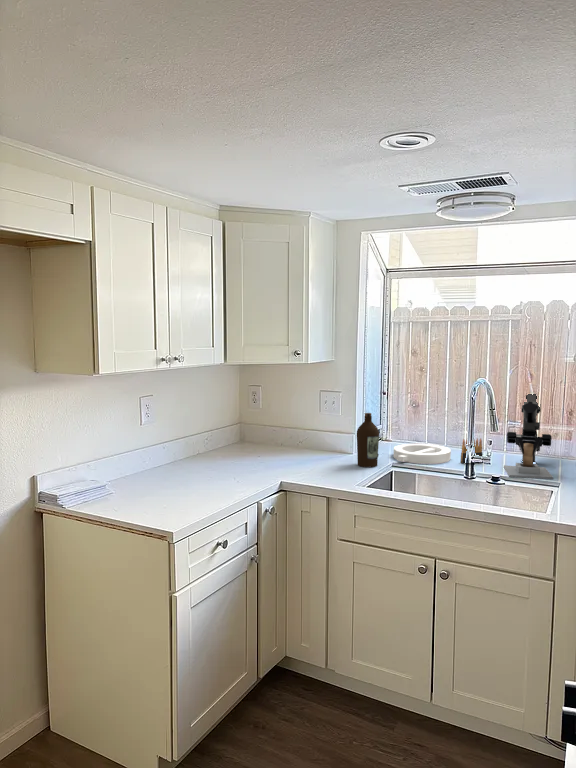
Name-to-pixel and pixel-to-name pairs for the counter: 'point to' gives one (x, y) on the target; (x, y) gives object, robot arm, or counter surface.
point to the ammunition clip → (477, 449)
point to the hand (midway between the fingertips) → (528, 454)
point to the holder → (528, 471)
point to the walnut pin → (528, 455)
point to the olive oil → (367, 443)
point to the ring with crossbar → (422, 453)
